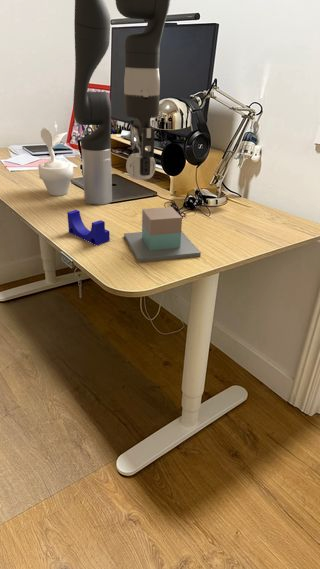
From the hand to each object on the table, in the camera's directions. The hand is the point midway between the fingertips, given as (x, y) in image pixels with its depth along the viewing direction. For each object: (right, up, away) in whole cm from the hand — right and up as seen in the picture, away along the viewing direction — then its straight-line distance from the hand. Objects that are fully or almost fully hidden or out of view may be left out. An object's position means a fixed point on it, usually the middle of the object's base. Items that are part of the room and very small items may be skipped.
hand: (141, 170), depth 92 cm
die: (0, -1, +1) cm, 2 cm away
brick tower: (+5, -16, +11) cm, 21 cm away
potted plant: (-31, +6, +48) cm, 57 cm away
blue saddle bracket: (-15, -14, +15) cm, 26 cm away
